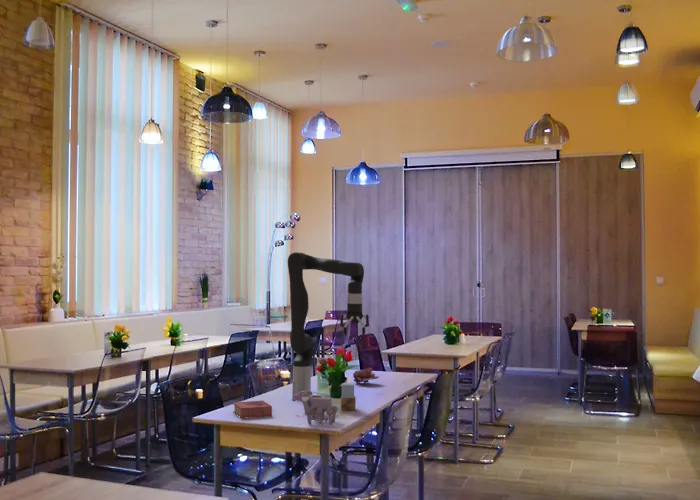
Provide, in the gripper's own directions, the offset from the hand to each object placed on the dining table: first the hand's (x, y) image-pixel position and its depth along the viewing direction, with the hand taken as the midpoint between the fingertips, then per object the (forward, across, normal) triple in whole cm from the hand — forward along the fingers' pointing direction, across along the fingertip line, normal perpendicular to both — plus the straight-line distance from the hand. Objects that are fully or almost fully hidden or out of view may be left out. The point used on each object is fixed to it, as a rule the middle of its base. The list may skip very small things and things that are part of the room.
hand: (354, 335), depth 355 cm
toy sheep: (+34, -20, -42) cm, 58 cm away
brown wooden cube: (+33, -4, -20) cm, 39 cm away
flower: (+34, +11, +59) cm, 69 cm away
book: (+35, -48, -25) cm, 64 cm away
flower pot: (+34, -21, -29) cm, 50 cm away
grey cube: (+27, -4, -20) cm, 34 cm away
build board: (+34, -6, -16) cm, 38 cm away
